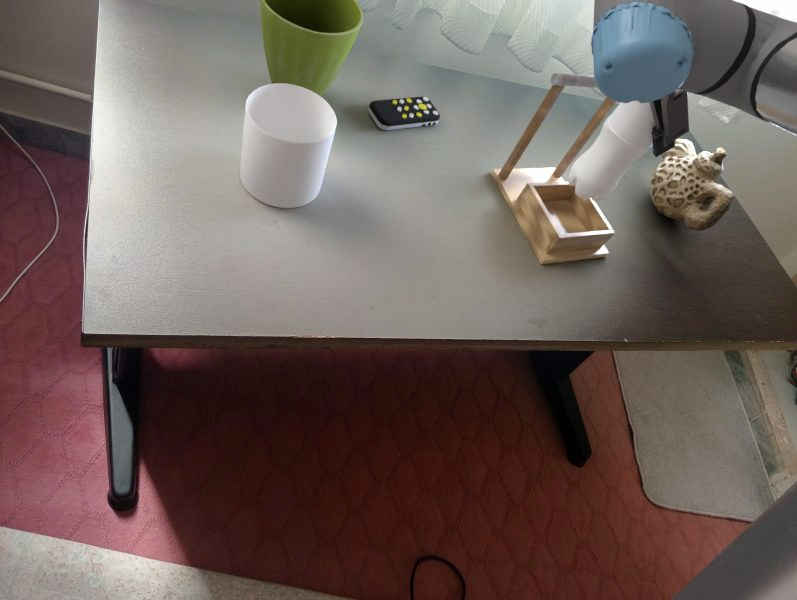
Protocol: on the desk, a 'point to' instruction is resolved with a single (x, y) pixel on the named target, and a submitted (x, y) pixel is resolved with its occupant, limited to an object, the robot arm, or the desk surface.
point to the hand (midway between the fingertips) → (647, 130)
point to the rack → (555, 191)
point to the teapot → (690, 186)
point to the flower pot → (308, 39)
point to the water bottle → (613, 150)
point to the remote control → (403, 113)
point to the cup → (285, 144)
